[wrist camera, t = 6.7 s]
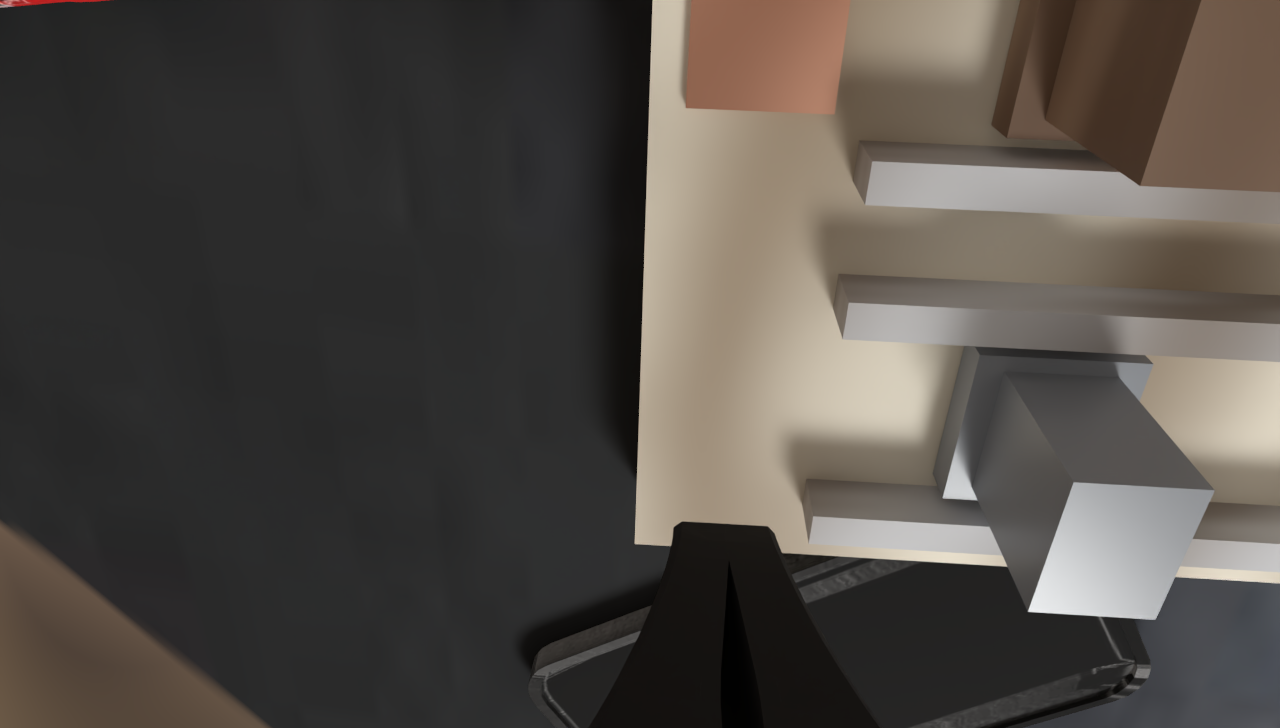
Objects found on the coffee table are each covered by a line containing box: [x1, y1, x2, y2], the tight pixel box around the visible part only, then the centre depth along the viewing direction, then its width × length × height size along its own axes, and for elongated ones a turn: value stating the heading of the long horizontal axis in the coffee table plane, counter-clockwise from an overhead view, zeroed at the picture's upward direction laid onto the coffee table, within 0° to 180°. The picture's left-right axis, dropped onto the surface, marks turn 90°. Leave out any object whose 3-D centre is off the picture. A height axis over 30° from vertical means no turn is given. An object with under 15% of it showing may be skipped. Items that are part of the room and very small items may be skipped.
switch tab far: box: [933, 346, 1215, 620], centre depth 15 cm, size 3×3×4 cm
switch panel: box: [635, 0, 1280, 583], centre depth 15 cm, size 20×15×3 cm
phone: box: [528, 553, 1151, 728], centre depth 23 cm, size 8×1×15 cm
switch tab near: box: [991, 0, 1280, 192], centre depth 11 cm, size 3×3×4 cm
